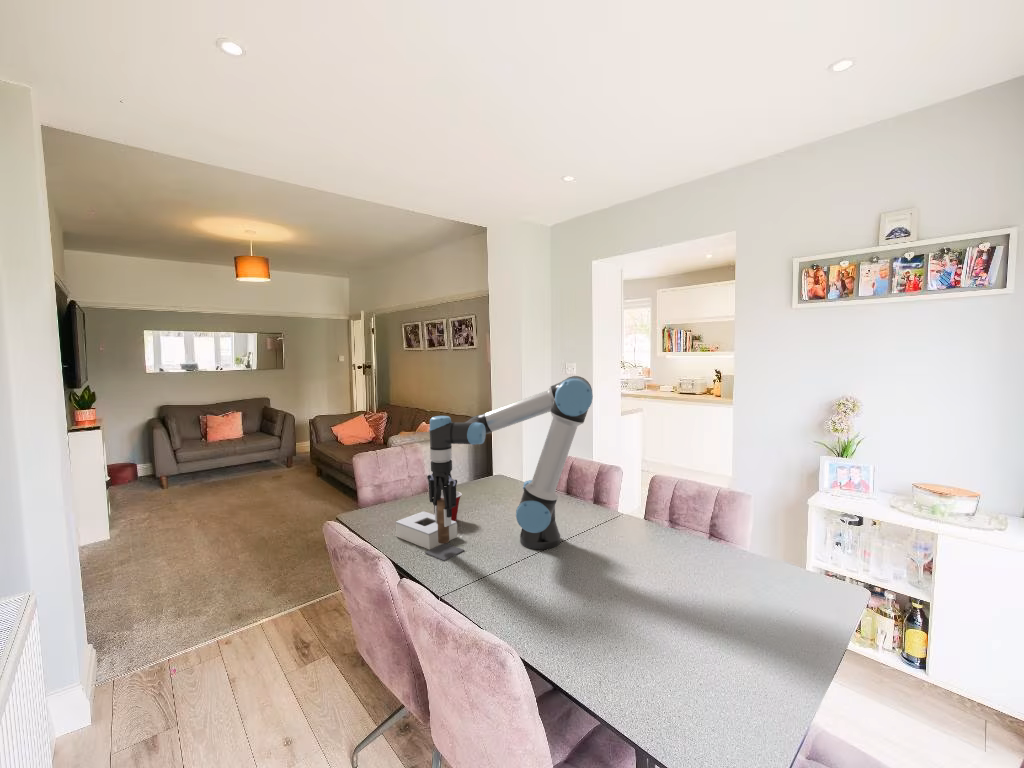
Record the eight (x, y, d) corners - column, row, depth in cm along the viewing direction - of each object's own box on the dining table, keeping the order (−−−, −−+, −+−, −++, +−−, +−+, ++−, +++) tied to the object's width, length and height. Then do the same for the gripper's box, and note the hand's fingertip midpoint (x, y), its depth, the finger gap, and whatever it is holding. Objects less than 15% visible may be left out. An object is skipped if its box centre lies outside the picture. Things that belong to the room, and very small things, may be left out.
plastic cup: (467, 520, 198) (466, 493, 197) (445, 527, 191) (444, 499, 190) (453, 514, 207) (452, 487, 206) (432, 520, 200) (431, 492, 199)
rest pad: (464, 550, 169) (464, 549, 169) (443, 561, 162) (443, 560, 162) (445, 543, 176) (445, 542, 176) (424, 553, 168) (424, 552, 168)
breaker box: (457, 537, 182) (456, 521, 181) (429, 549, 171) (428, 533, 170) (423, 525, 194) (423, 511, 194) (395, 536, 184) (395, 521, 183)
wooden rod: (451, 540, 169) (450, 500, 167) (443, 544, 166) (442, 503, 164) (444, 537, 171) (442, 497, 170) (435, 541, 168) (434, 500, 167)
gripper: (465, 461, 163) (467, 526, 165) (433, 454, 174) (435, 515, 176) (450, 465, 157) (452, 533, 160) (417, 458, 168) (419, 521, 170)
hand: (443, 523), depth 168 cm, fingers closed on wooden rod, 4 cm apart
